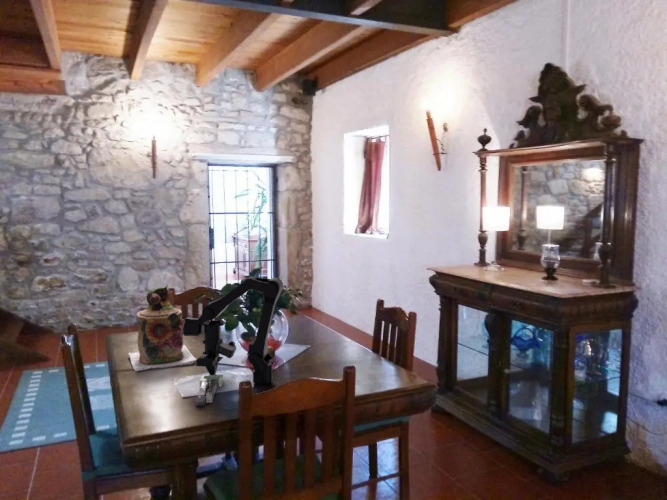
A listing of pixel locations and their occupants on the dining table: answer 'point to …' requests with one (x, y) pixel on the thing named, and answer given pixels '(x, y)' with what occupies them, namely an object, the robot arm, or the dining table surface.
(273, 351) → the mushroom
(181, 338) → the cookie jar
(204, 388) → the tong arm
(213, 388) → the tongs fixed arm
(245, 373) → the dining table surface
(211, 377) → the lock clip
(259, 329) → the robot arm
